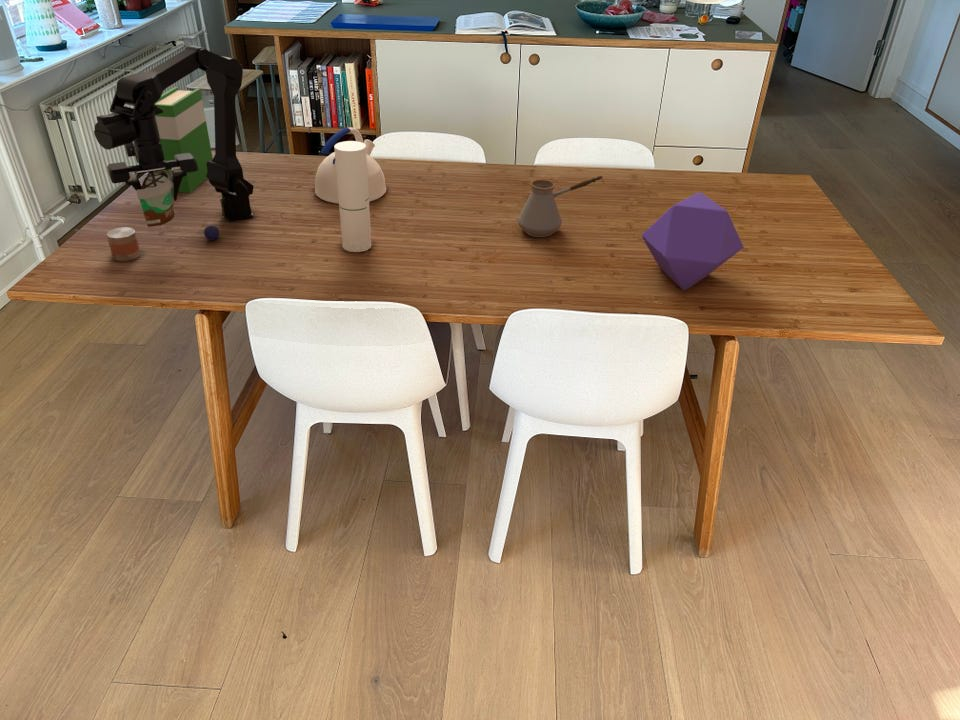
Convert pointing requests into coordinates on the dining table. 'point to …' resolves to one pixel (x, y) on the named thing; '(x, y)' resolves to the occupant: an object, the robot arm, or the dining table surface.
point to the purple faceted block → (692, 240)
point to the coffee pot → (544, 208)
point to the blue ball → (211, 232)
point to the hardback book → (184, 132)
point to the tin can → (123, 244)
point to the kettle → (328, 177)
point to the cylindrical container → (353, 195)
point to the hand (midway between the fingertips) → (161, 202)
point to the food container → (157, 198)
